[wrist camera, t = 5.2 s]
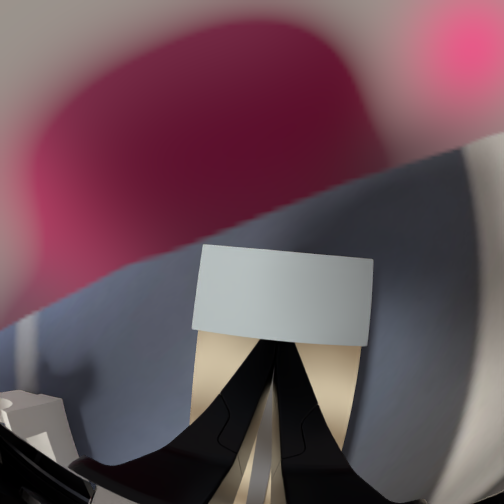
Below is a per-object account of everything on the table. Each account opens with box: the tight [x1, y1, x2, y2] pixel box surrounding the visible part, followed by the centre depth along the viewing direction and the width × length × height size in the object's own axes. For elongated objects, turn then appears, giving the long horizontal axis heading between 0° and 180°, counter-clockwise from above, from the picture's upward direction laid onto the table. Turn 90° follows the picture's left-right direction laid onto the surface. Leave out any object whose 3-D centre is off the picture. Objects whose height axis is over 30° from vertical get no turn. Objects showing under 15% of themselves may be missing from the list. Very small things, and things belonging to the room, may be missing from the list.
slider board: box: [190, 330, 361, 504], centre depth 15 cm, size 19×10×2 cm, turn 173°
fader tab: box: [192, 244, 373, 346], centre depth 11 cm, size 3×4×10 cm
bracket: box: [0, 390, 89, 482], centre depth 13 cm, size 13×7×8 cm, turn 8°
